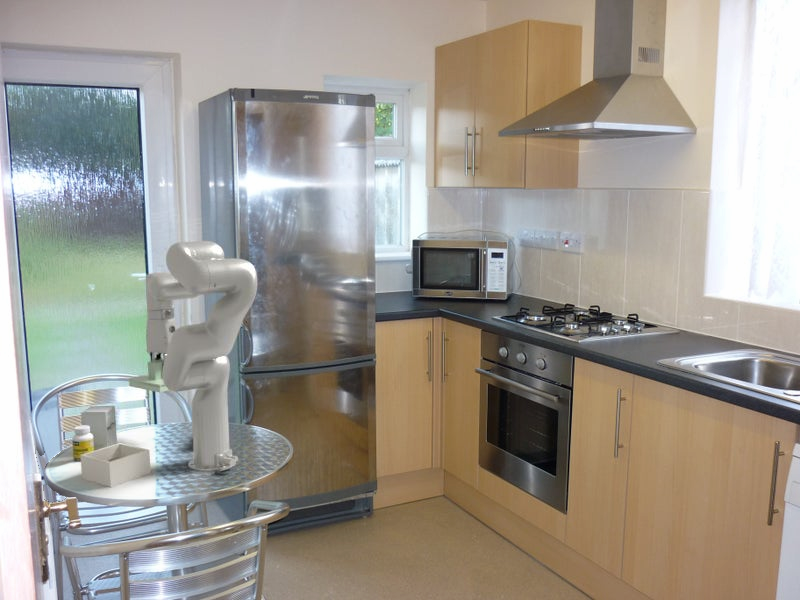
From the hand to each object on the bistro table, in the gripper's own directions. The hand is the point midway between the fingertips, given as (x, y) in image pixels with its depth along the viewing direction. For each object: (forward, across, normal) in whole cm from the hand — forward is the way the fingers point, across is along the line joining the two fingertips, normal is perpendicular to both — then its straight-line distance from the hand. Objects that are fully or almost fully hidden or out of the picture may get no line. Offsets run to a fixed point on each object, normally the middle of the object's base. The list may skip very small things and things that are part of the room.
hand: (163, 375), depth 226 cm
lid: (+3, 0, 0) cm, 3 cm away
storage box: (+20, -15, +28) cm, 38 cm away
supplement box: (+21, +9, +16) cm, 28 cm away
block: (+19, -15, +28) cm, 37 cm away
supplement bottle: (+21, +5, +24) cm, 32 cm away
